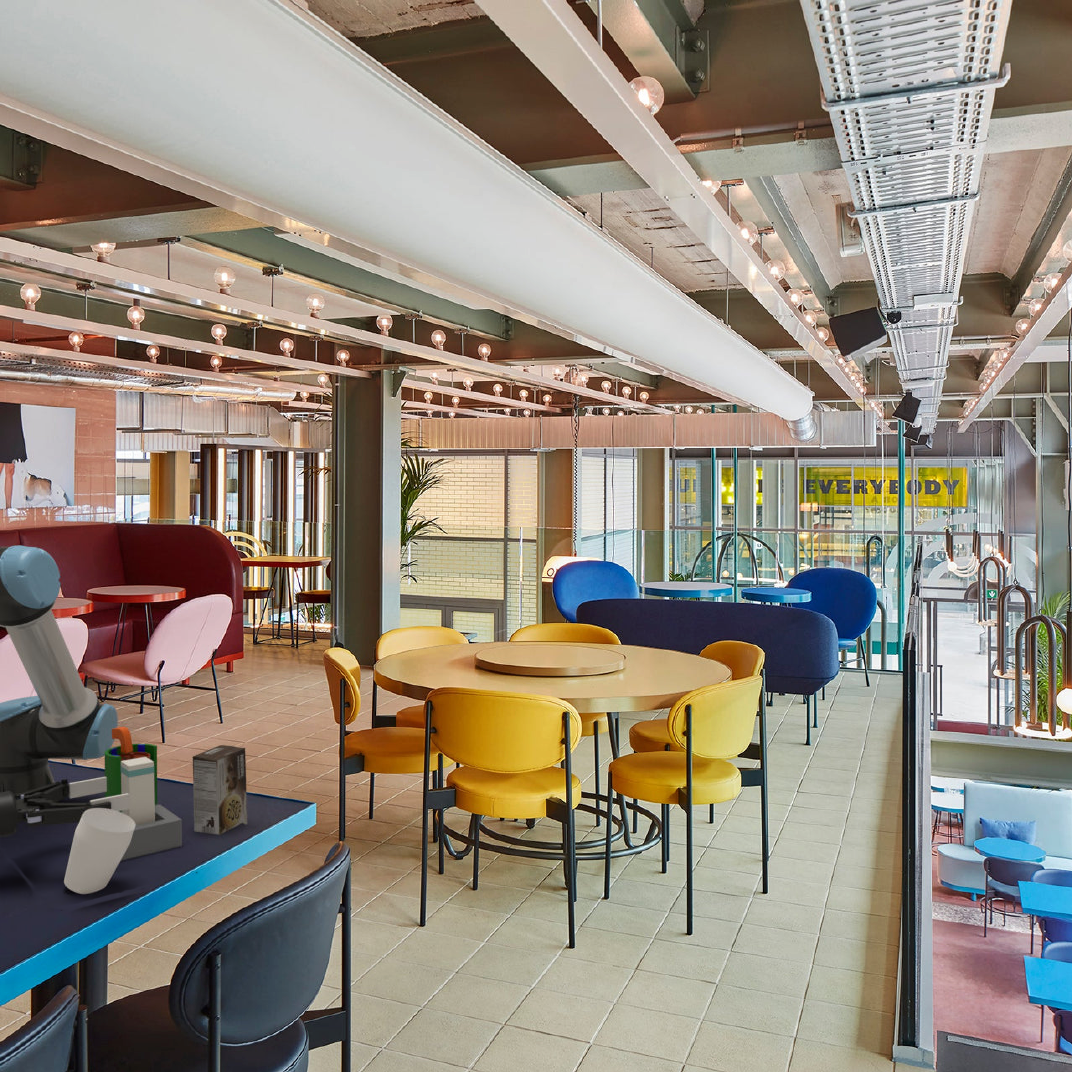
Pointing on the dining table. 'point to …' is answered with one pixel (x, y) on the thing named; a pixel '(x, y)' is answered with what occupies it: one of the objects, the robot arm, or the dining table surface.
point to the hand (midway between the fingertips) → (117, 792)
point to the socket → (155, 834)
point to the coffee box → (219, 789)
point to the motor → (126, 753)
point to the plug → (139, 789)
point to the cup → (97, 849)
